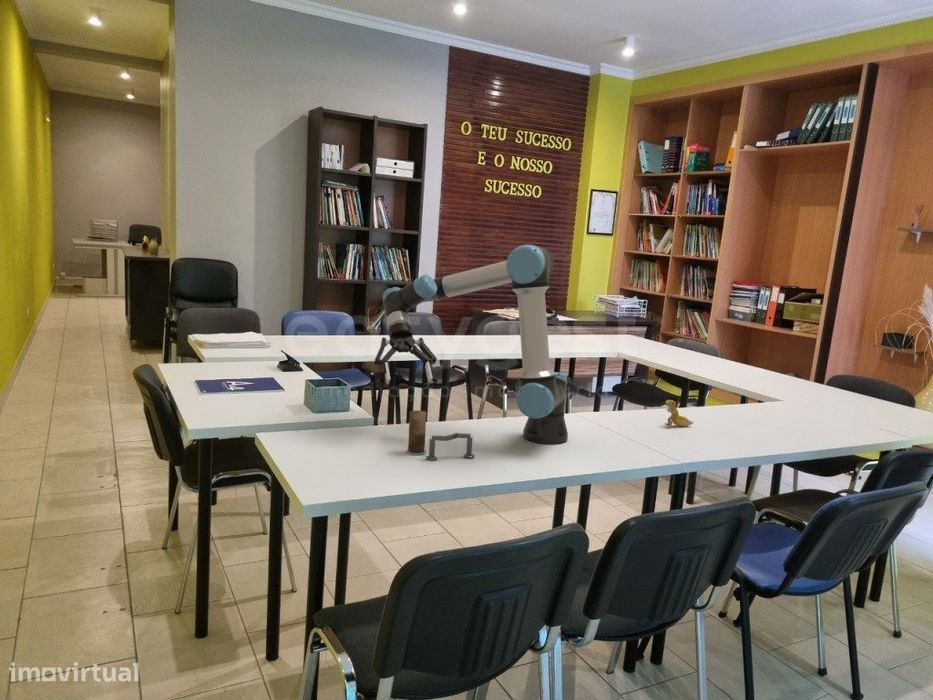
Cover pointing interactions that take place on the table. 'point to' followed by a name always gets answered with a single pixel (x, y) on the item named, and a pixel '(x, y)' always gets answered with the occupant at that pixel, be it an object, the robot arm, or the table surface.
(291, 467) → the table surface
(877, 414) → the table surface
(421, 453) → the pad
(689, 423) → the toy
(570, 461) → the table surface
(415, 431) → the dowel
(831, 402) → the table surface
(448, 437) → the grey bent handle
